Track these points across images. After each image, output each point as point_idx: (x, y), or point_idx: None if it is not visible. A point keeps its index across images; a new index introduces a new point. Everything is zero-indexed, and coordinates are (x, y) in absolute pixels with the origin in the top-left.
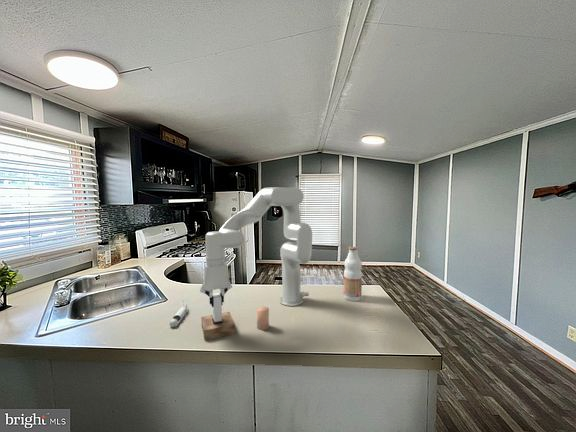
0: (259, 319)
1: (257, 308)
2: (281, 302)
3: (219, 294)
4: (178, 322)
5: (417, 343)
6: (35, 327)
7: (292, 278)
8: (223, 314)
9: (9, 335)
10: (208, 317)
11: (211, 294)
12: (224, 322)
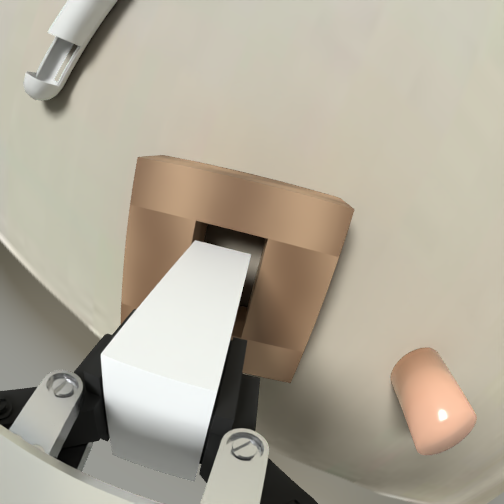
0: (404, 415)
1: (440, 420)
2: None
3: (199, 430)
4: (62, 79)
5: (492, 497)
6: None
7: None
8: (294, 224)
9: None
10: (177, 196)
11: (75, 457)
12: (247, 335)
